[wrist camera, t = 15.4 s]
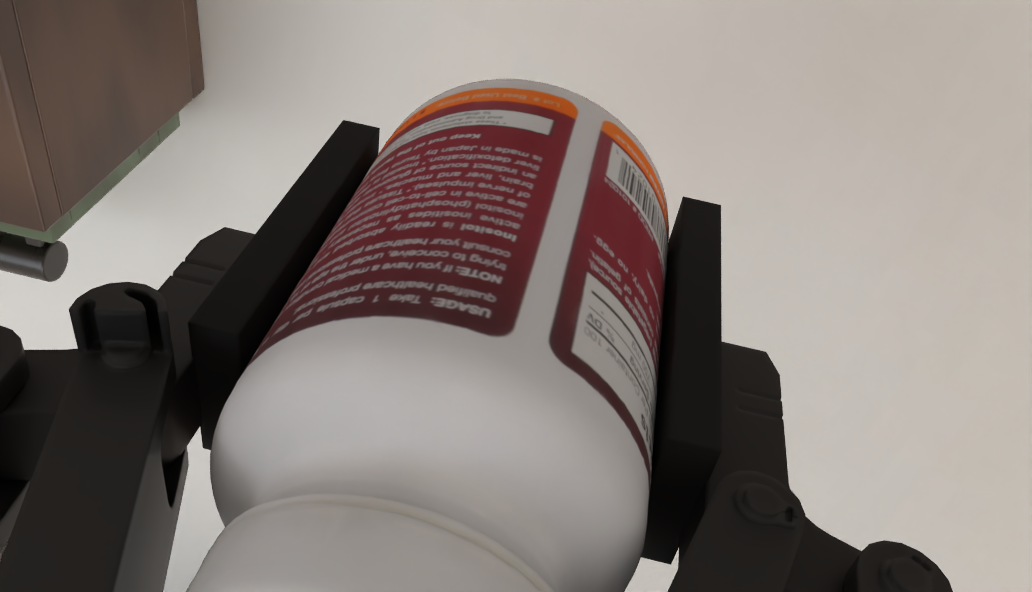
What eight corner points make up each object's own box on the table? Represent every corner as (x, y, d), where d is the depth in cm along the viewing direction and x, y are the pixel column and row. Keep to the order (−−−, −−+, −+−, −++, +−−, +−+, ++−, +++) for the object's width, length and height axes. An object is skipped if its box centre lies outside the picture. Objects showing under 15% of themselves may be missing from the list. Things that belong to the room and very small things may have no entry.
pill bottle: (347, 248, 20) (60, 722, 11) (440, 10, 16) (112, 449, 7) (588, 361, 20) (493, 888, 12) (733, 159, 17) (746, 719, 8)
